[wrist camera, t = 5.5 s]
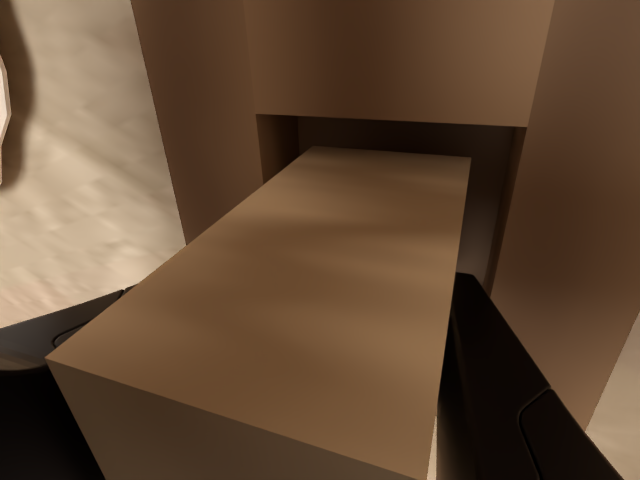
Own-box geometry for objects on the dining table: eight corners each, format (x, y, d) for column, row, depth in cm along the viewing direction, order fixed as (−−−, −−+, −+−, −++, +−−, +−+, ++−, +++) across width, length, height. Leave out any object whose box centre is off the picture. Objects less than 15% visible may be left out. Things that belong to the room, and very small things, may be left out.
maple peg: (471, 157, 10) (425, 482, 3) (450, 294, 12) (395, 667, 5) (313, 145, 11) (43, 357, 4) (318, 270, 13) (139, 545, 6)
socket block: (717, -57, 8) (817, -83, 6) (560, 375, 14) (574, 453, 11) (200, -20, 12) (124, -26, 9) (249, 306, 18) (211, 355, 15)
